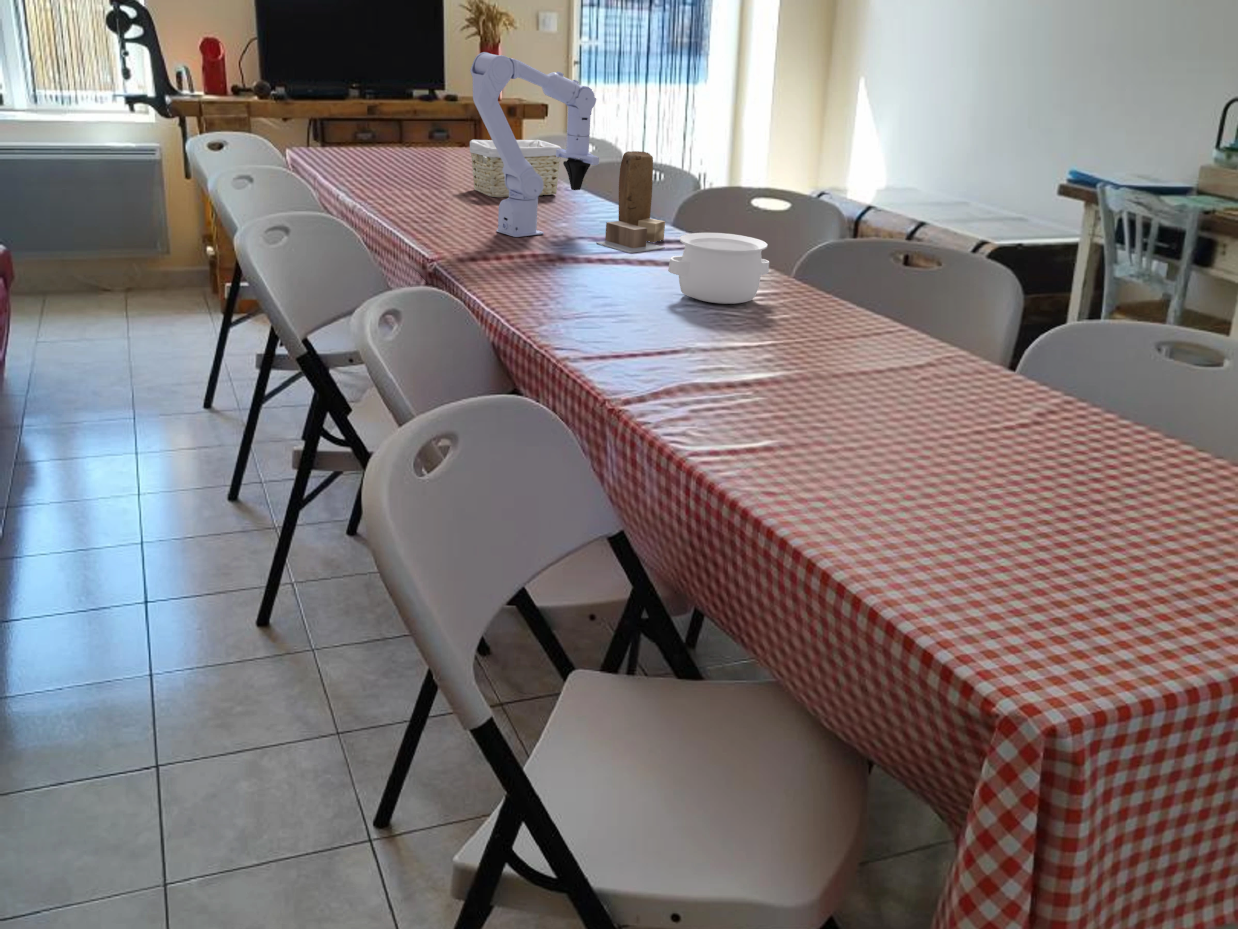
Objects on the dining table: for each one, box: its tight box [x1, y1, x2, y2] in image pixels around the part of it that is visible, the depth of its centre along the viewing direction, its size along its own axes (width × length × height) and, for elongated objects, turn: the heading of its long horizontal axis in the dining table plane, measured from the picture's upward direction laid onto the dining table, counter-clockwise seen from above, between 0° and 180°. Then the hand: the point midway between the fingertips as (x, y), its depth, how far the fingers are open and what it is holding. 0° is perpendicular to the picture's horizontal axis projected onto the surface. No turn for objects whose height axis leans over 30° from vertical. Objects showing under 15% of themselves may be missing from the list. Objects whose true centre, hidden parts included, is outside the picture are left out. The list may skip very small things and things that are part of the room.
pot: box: [667, 232, 770, 305], centre depth 238 cm, size 22×17×12 cm
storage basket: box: [469, 139, 562, 198], centre depth 342 cm, size 24×16×15 cm
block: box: [618, 150, 654, 226], centre depth 300 cm, size 11×8×20 cm
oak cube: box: [638, 217, 666, 243], centre depth 292 cm, size 5×5×5 cm
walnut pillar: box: [604, 220, 647, 248], centre depth 284 cm, size 4×4×10 cm
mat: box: [596, 240, 665, 254], centre depth 284 cm, size 12×12×1 cm
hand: (575, 189), depth 294 cm, fingers closed
